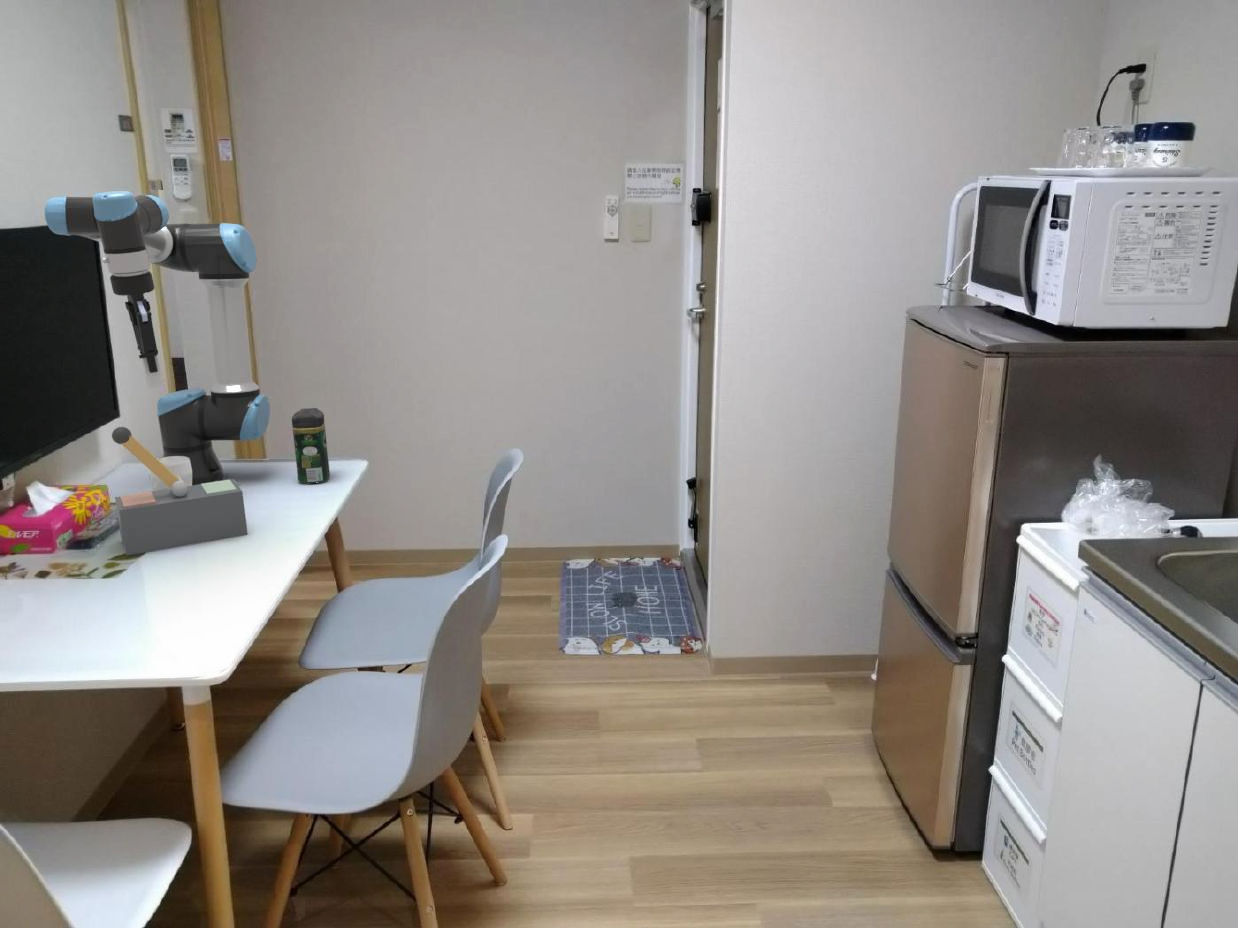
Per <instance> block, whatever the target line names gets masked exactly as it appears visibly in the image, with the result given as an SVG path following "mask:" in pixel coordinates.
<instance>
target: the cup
mask: <svg viewBox="0 0 1238 928" xmlns="http://www.w3.org/2000/svg"><path fill="white" fill-rule="evenodd" d="M157 459H158V460H159V461H160V462H161V463H162V464H164V465H165V466H166V467H167V468H168V469H169V470H170V471H171V472H172V473H174V474H175V475H176V476H179V477H181V478H182V479H183V481H184V482H185V484H186V486H192V468H191V463H190V458H188V457H185V456H169V457H163V456H162V457H158V458H157ZM149 478H150V480H151V481H150V482H151V484H152V485H151V486H152V487H153V491H159V490H166V489H171V488H170V487H169V486H168V485H166V484H165V483H164V482H163V481H162V480H161V479H160V478H159V477H158V476H156V475H155V474H154V473H153V472H152V471H151V470H150V469H149Z"/></svg>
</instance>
